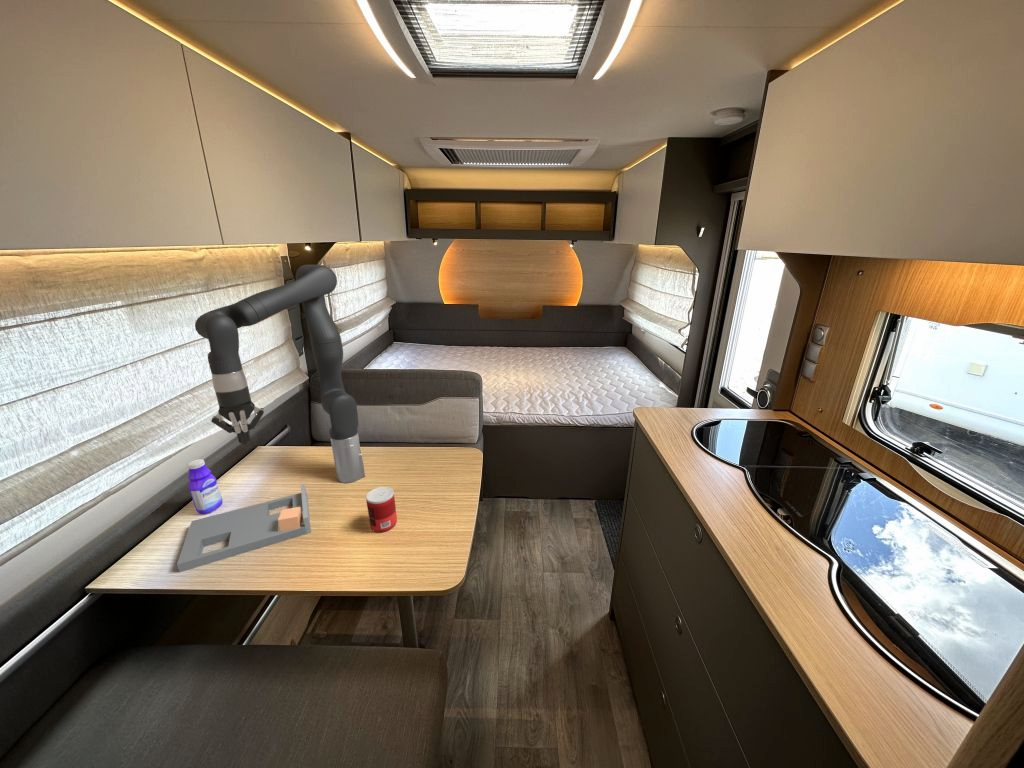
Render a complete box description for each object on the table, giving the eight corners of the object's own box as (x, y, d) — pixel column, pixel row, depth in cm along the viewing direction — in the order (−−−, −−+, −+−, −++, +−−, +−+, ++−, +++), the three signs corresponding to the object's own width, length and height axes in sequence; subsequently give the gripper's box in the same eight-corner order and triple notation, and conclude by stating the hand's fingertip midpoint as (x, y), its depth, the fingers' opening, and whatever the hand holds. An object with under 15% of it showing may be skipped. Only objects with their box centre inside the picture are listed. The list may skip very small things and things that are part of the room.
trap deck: (307, 497, 135) (304, 483, 133) (311, 532, 118) (307, 517, 116) (193, 527, 121) (188, 512, 119) (179, 572, 104) (173, 555, 102)
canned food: (402, 519, 124) (398, 488, 120) (386, 535, 116) (382, 504, 113) (381, 514, 126) (377, 484, 122) (365, 530, 119) (360, 499, 115)
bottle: (207, 517, 125) (192, 468, 120) (192, 514, 127) (177, 467, 121) (227, 503, 132) (214, 457, 127) (213, 501, 133) (199, 455, 128)
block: (302, 517, 121) (300, 506, 119) (299, 528, 116) (297, 516, 115) (284, 521, 119) (281, 509, 118) (280, 531, 115) (278, 520, 114)
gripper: (259, 379, 115) (272, 433, 121) (204, 386, 109) (219, 443, 115) (258, 386, 109) (271, 443, 114) (199, 394, 103) (216, 454, 108)
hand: (245, 443), depth 115 cm, fingers closed
